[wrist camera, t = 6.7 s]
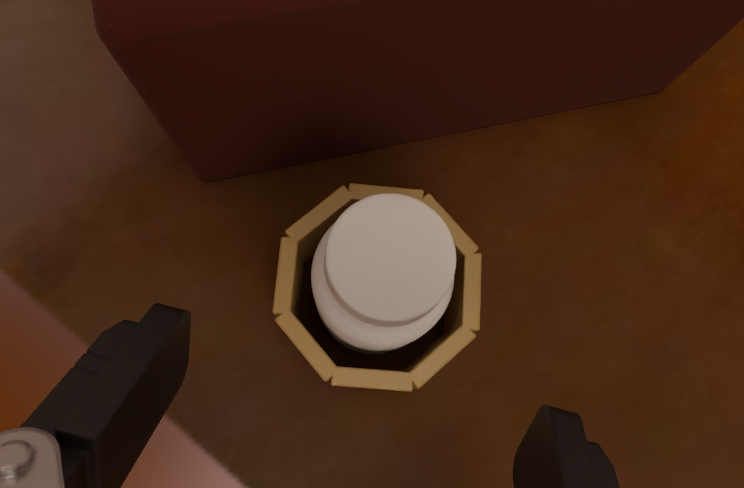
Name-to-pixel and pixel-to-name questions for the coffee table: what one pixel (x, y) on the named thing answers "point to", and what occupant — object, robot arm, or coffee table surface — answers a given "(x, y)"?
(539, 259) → the coffee table surface
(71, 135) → the coffee table surface
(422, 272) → the pill bottle
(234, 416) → the coffee table surface
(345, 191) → the stand
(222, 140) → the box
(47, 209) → the coffee table surface
